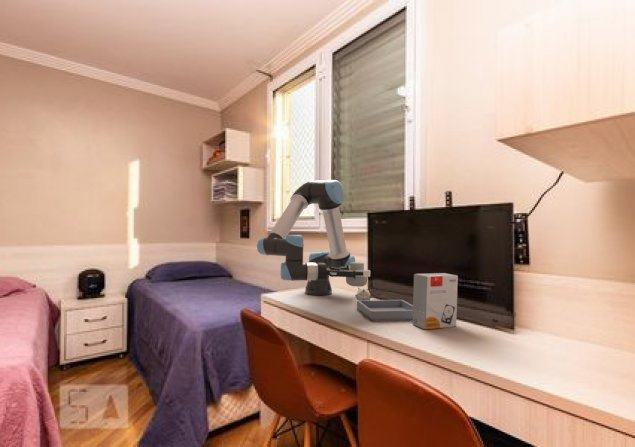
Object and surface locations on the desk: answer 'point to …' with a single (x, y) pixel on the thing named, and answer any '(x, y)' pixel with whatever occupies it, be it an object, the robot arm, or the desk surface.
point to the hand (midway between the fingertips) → (366, 271)
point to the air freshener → (358, 280)
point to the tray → (385, 310)
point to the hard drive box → (435, 300)
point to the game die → (363, 294)
